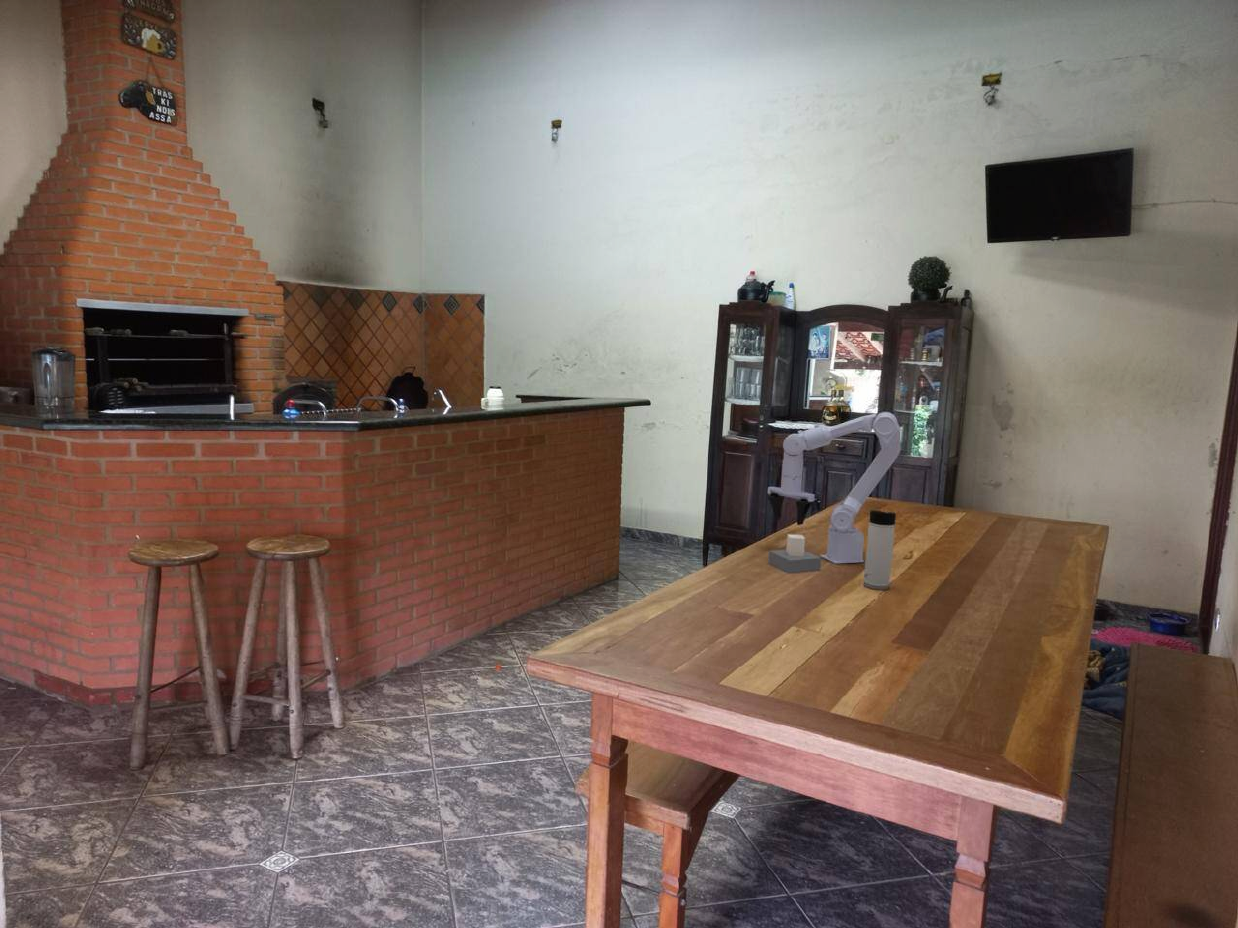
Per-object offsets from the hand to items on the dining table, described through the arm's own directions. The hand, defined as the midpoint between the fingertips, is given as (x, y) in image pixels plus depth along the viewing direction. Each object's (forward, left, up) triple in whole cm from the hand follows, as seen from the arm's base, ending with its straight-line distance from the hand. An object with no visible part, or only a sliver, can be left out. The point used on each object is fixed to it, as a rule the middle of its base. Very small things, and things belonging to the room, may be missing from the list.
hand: (788, 521), depth 225 cm
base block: (+5, +13, -10) cm, 17 cm away
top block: (+5, +13, -6) cm, 15 cm away
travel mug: (-7, +33, -10) cm, 35 cm away
